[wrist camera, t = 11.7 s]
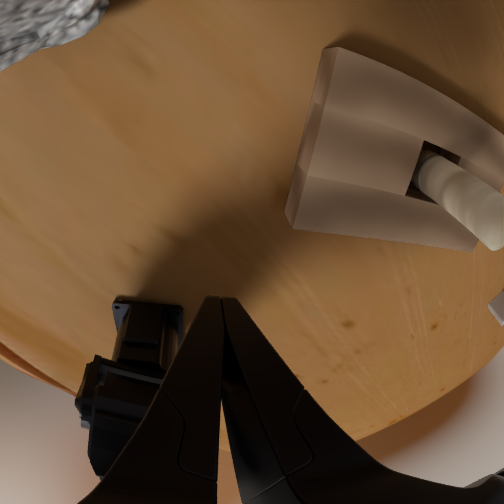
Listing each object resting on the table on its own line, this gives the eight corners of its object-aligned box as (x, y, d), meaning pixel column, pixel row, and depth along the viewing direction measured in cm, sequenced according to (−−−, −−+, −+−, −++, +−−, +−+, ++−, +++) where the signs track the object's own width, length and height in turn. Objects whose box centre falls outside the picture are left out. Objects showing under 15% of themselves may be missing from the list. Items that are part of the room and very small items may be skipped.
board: (458, 238, 25) (472, 252, 23) (284, 211, 21) (292, 229, 19) (498, 136, 19) (516, 145, 17) (323, 49, 15) (338, 46, 13)
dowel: (423, 186, 21) (502, 253, 13) (394, 177, 21) (479, 249, 13) (435, 150, 20) (524, 208, 11) (407, 139, 19) (503, 196, 11)
